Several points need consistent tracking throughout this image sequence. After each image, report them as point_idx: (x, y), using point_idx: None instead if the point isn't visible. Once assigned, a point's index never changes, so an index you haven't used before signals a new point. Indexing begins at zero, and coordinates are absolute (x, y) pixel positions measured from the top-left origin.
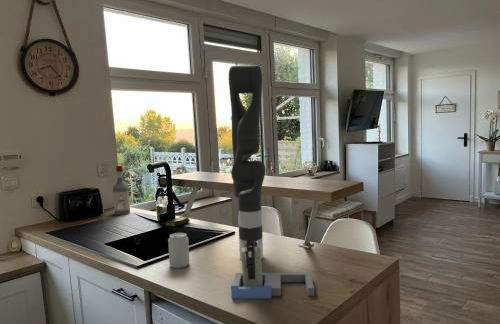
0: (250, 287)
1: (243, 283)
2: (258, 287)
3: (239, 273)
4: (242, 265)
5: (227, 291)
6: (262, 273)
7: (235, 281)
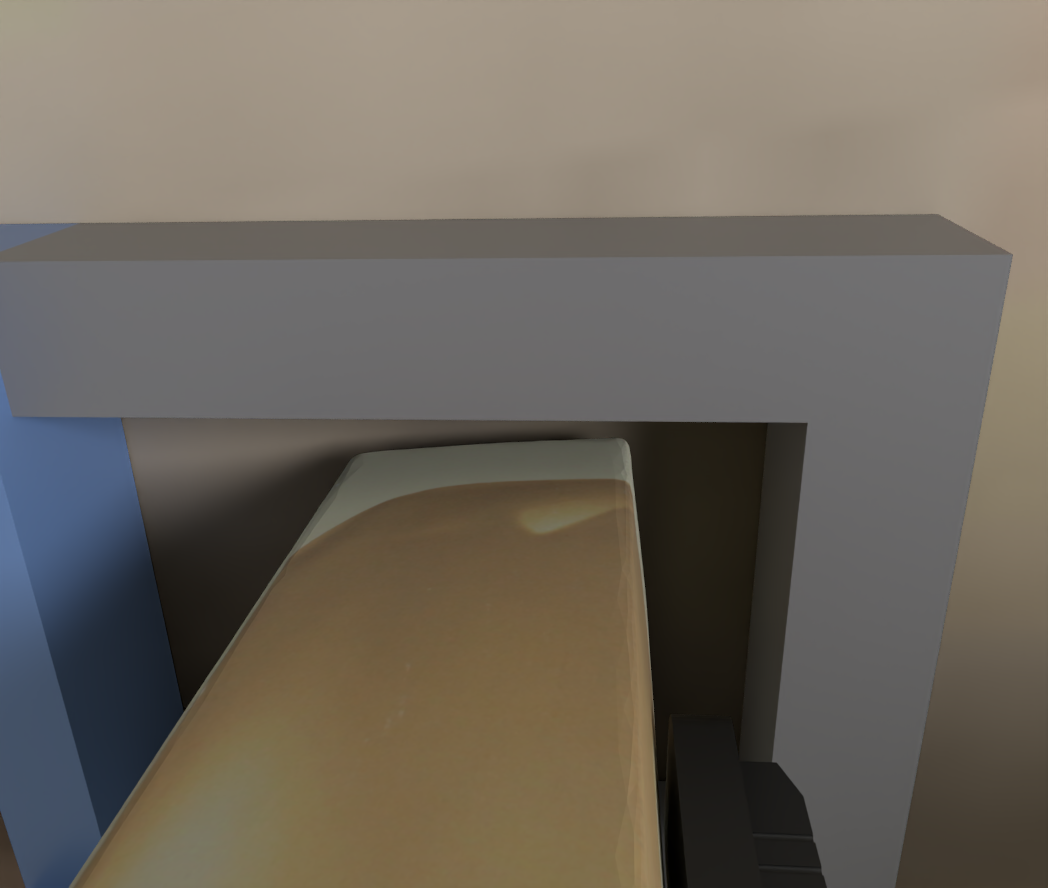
0: (26, 679)
1: (325, 503)
2: (62, 810)
3: (943, 368)
4: (86, 863)
5: (297, 78)
6: (849, 863)
7: (392, 310)
